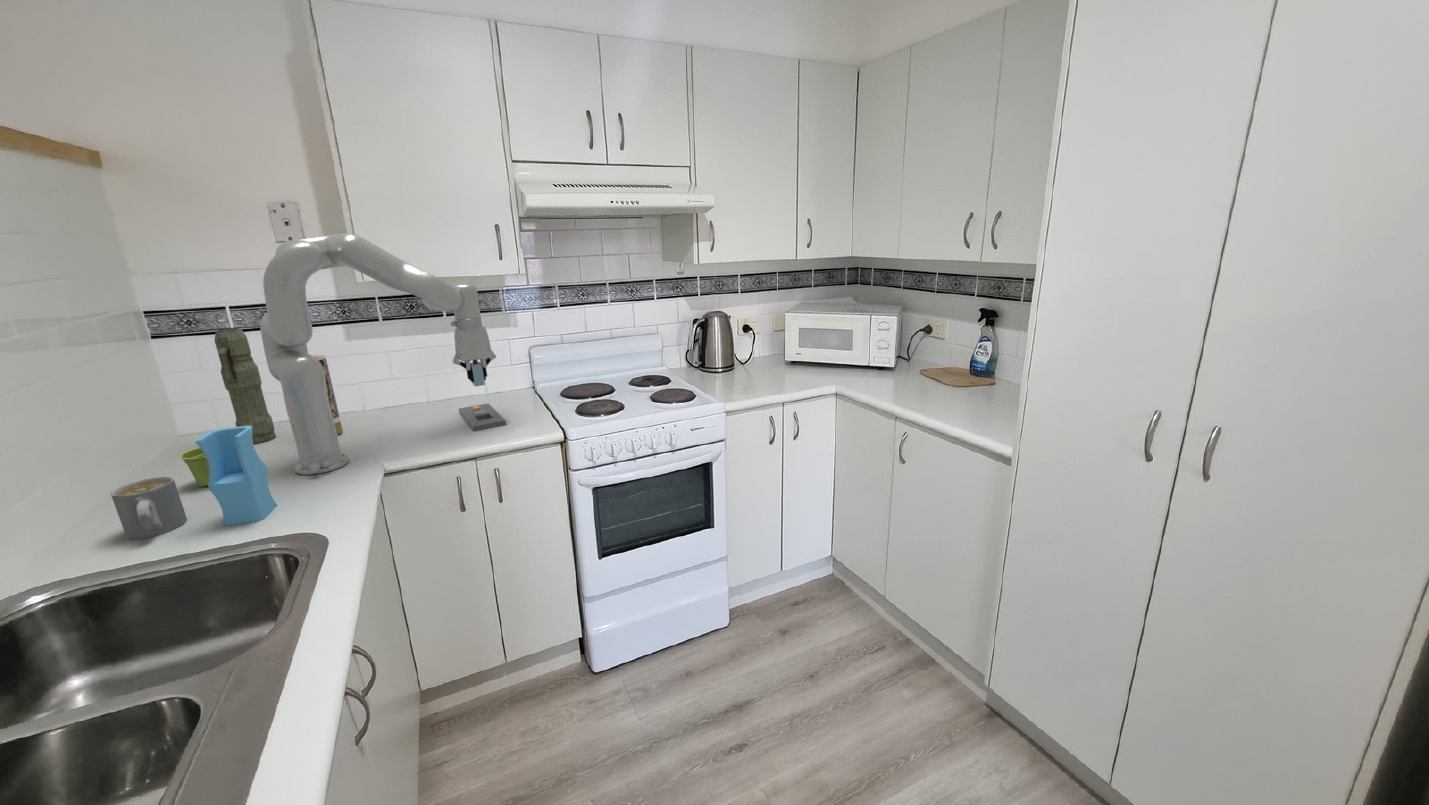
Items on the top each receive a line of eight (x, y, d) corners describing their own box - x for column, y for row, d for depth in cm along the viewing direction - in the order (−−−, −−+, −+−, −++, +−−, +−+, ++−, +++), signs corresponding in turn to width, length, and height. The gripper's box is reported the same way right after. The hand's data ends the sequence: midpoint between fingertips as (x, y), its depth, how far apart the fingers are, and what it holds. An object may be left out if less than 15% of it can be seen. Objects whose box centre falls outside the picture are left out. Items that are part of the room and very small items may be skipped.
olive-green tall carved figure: (233, 448, 175) (199, 333, 165) (251, 435, 186) (220, 327, 176) (267, 444, 178) (236, 330, 168) (282, 432, 189) (254, 324, 178)
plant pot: (243, 479, 153) (234, 448, 150) (199, 493, 145) (188, 460, 142) (227, 472, 157) (218, 442, 155) (183, 486, 149) (173, 454, 147)
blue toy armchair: (221, 526, 127) (194, 441, 121) (238, 510, 134) (213, 429, 129) (262, 520, 129) (238, 436, 123) (277, 505, 137) (254, 424, 131)
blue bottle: (485, 384, 187) (481, 360, 185) (475, 386, 186) (471, 362, 184) (482, 382, 191) (478, 358, 188) (472, 383, 189) (468, 359, 187)
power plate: (506, 424, 188) (505, 418, 187) (473, 431, 183) (472, 424, 182) (489, 407, 207) (488, 401, 207) (459, 413, 202) (458, 406, 202)
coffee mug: (136, 523, 130) (122, 482, 127) (193, 512, 134) (180, 473, 131) (110, 551, 119) (93, 507, 116) (173, 538, 123) (158, 495, 120)
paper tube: (340, 436, 183) (322, 358, 175) (315, 439, 180) (296, 361, 173) (345, 430, 189) (327, 354, 181) (320, 433, 186) (302, 356, 179)
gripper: (442, 328, 175) (453, 387, 181) (498, 321, 184) (506, 378, 189) (438, 325, 181) (448, 382, 187) (493, 319, 190) (501, 374, 195)
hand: (478, 379), depth 188 cm, fingers closed on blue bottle, 3 cm apart
